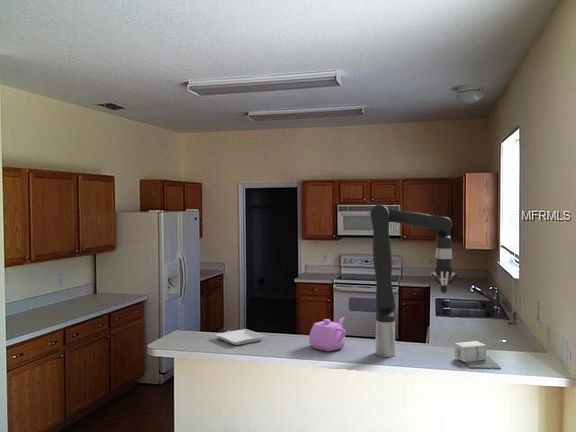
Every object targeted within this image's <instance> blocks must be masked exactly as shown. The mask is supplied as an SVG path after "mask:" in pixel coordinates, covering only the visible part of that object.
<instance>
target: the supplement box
mask: <svg viewBox="0 0 576 432" xmlns="http://www.w3.org/2000/svg"><path fill="white" fill-rule="evenodd" d="M486 356H487V344H486V343H482V342H480V341H478V340H472V341H465V342H464V341H463V342H455V343H454V358H455V359H458V360H459V361H461V362H463V363H464V362H468V361H477V360H486Z"/></svg>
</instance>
